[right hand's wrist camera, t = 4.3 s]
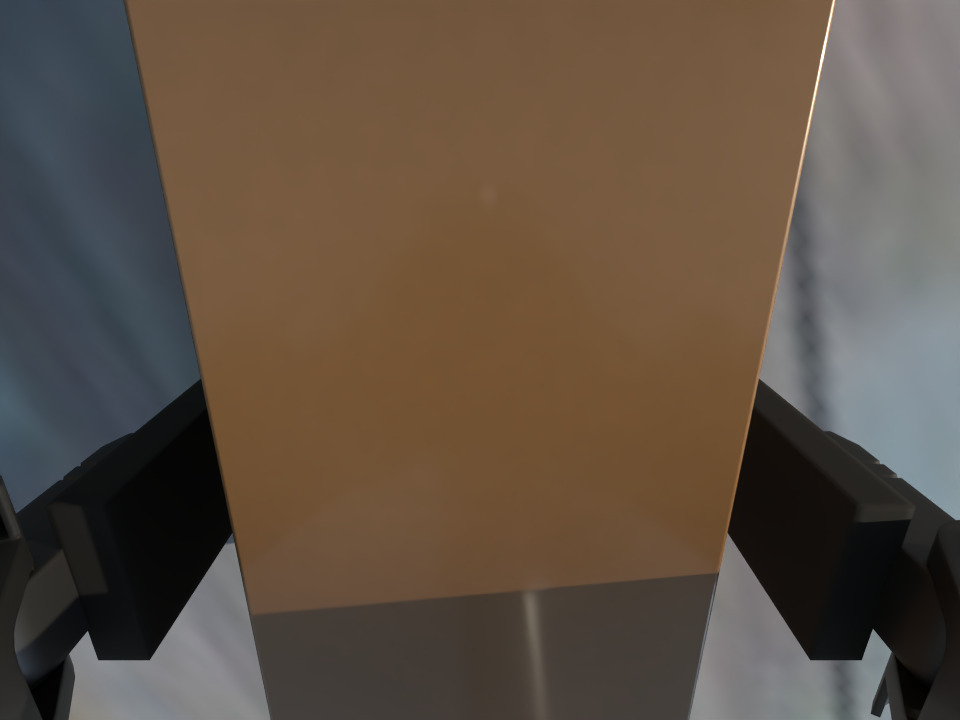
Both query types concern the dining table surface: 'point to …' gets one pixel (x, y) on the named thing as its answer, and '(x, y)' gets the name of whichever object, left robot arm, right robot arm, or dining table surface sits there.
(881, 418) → the dining table surface
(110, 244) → the dining table surface
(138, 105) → the dining table surface
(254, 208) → the bar
